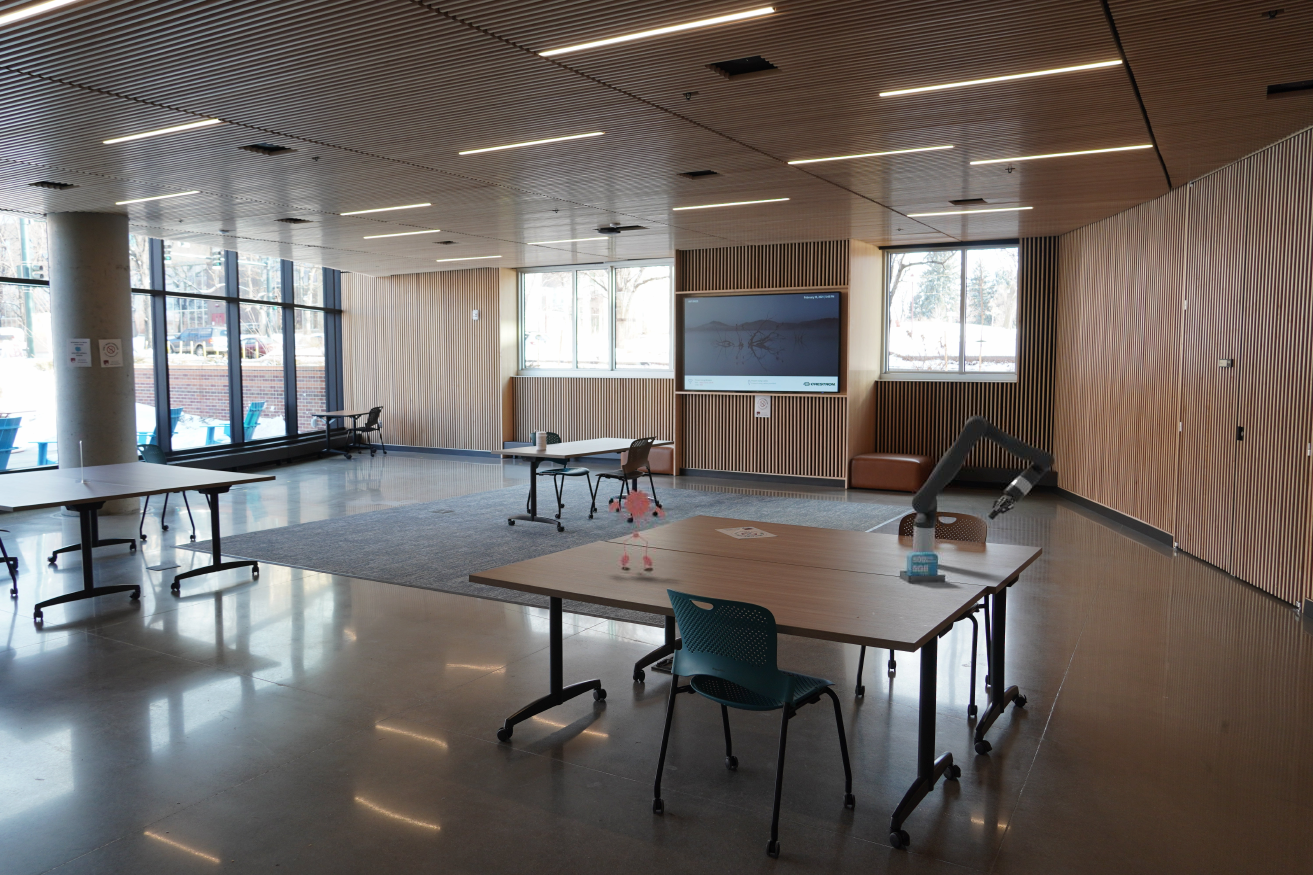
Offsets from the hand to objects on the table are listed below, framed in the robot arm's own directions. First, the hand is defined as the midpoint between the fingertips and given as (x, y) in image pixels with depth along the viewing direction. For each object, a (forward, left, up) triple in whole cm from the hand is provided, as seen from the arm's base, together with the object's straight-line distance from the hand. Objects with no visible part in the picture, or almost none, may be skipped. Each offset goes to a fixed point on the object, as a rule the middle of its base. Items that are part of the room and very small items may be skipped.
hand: (990, 518), depth 384 cm
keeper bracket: (0, -30, -26) cm, 39 cm away
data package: (+2, -31, -26) cm, 40 cm away
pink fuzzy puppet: (-41, -147, -26) cm, 155 cm away
